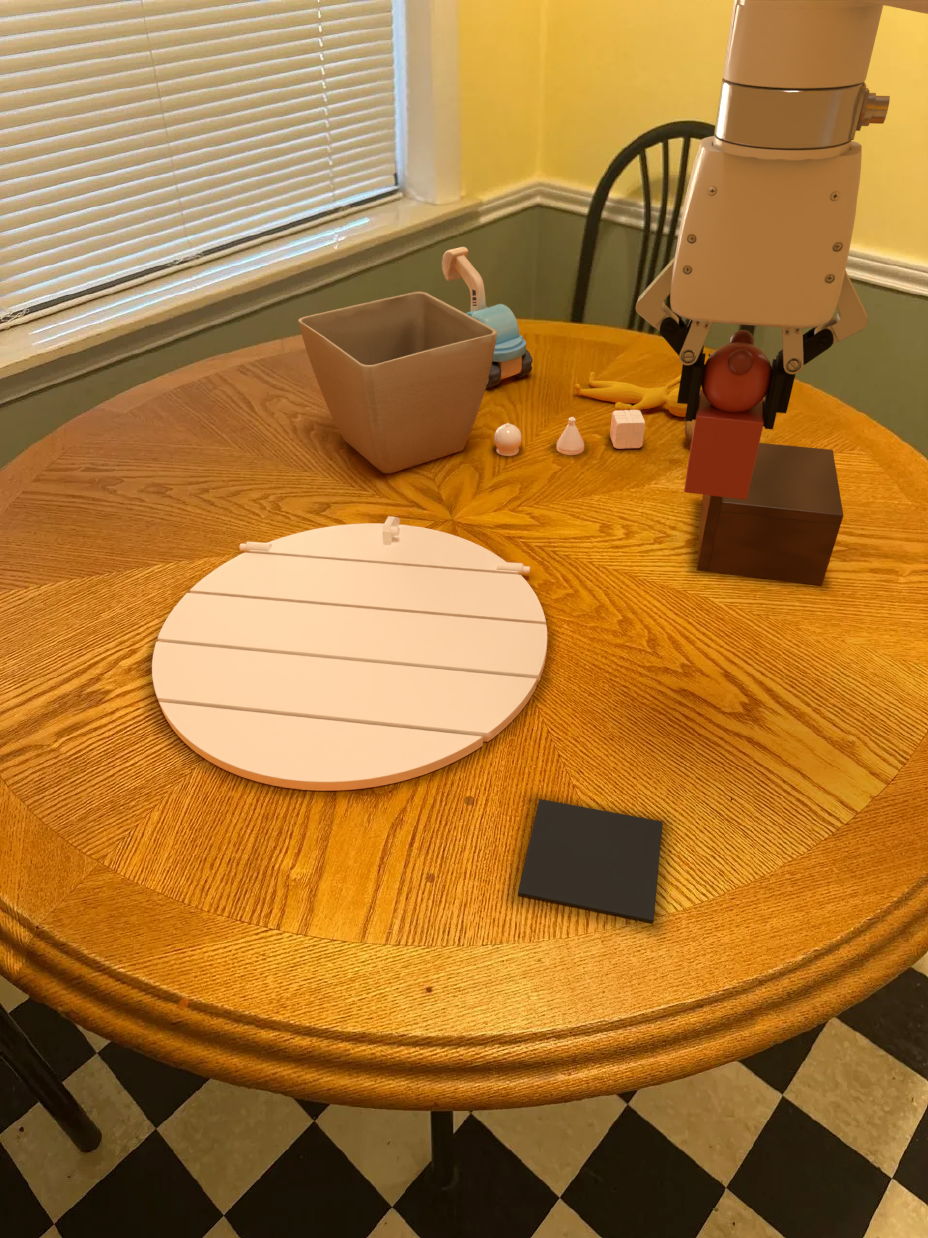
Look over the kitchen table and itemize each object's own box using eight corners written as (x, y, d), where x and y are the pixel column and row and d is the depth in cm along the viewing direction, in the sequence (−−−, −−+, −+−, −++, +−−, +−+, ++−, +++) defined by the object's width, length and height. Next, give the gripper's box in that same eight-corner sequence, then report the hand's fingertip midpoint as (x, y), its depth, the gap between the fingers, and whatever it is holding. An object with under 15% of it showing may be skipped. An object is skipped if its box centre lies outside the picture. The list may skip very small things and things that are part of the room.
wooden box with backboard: (814, 516, 103) (839, 425, 95) (821, 586, 93) (851, 489, 85) (701, 504, 106) (717, 414, 98) (696, 570, 95) (714, 475, 88)
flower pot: (427, 402, 129) (421, 287, 118) (500, 452, 117) (501, 330, 106) (312, 436, 121) (294, 318, 110) (376, 495, 109) (364, 367, 98)
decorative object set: (643, 452, 116) (646, 421, 113) (494, 457, 116) (495, 427, 113) (636, 436, 119) (640, 406, 117) (492, 441, 119) (492, 411, 116)
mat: (662, 824, 69) (662, 821, 69) (653, 923, 62) (653, 920, 62) (539, 801, 71) (539, 798, 71) (517, 895, 64) (517, 892, 64)
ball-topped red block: (749, 468, 65) (779, 328, 58) (748, 502, 61) (780, 358, 54) (686, 461, 66) (709, 323, 59) (682, 494, 62) (705, 352, 55)
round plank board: (242, 516, 106) (237, 492, 103) (561, 540, 100) (563, 515, 98) (79, 763, 75) (66, 736, 73) (524, 816, 70) (525, 789, 68)
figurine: (602, 355, 133) (715, 369, 125) (602, 384, 136) (713, 399, 127) (560, 388, 125) (678, 405, 116) (561, 417, 128) (676, 437, 119)
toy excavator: (475, 345, 145) (474, 239, 134) (536, 379, 134) (540, 265, 124) (433, 358, 142) (428, 249, 131) (492, 393, 131) (492, 278, 120)
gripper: (938, 109, 49) (853, 405, 61) (640, 102, 53) (614, 383, 65) (960, 135, 44) (862, 455, 55) (625, 126, 47) (599, 428, 59)
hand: (729, 414), depth 60 cm, fingers closed on ball-topped red block, 4 cm apart
